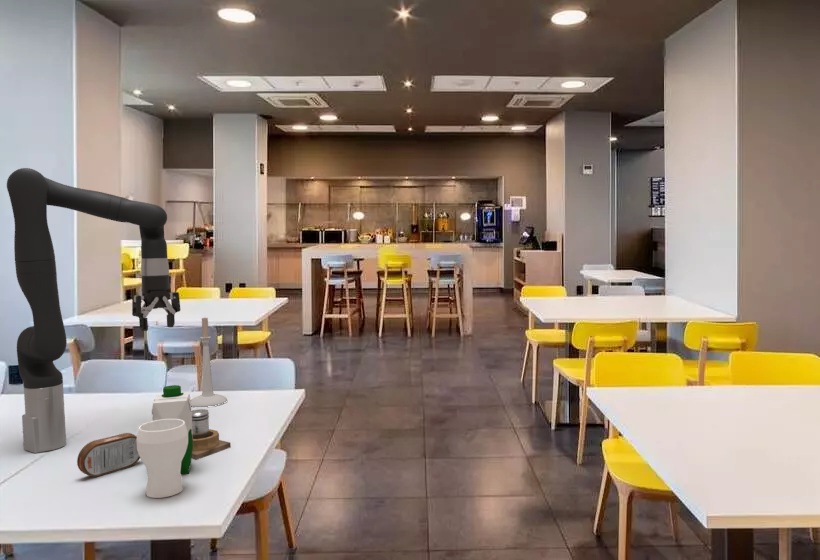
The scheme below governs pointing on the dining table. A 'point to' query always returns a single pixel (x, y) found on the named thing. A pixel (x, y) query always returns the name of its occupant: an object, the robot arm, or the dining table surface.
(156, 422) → the cup
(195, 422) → the salt shaker
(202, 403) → the candlestick
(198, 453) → the ring board
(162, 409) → the milk carton
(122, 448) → the tin
